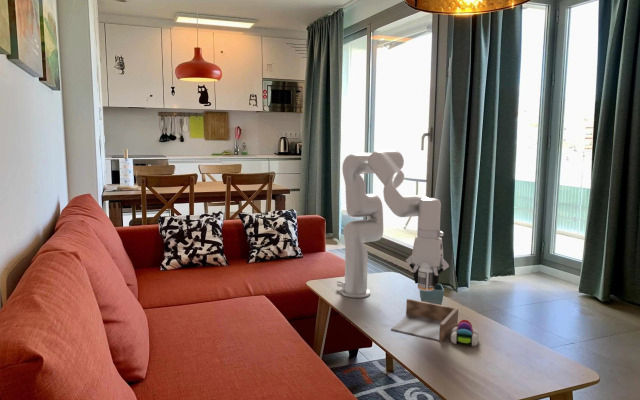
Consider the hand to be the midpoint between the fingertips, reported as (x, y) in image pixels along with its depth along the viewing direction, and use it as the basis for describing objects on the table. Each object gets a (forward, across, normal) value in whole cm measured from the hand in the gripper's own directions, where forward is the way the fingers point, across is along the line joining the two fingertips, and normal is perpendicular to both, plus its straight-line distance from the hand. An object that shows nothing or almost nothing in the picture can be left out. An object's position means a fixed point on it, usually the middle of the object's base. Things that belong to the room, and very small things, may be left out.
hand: (425, 283), depth 174 cm
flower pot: (+16, +4, -20) cm, 26 cm away
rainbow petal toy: (+16, -16, +5) cm, 23 cm away
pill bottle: (+2, 0, 0) cm, 2 cm away
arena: (+16, 0, 0) cm, 16 cm away
